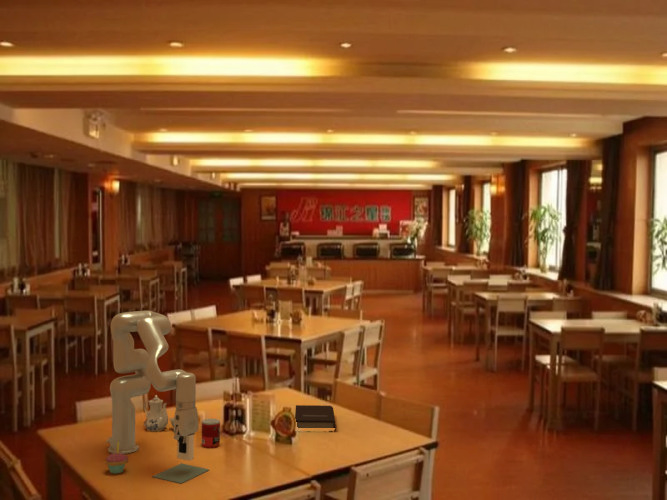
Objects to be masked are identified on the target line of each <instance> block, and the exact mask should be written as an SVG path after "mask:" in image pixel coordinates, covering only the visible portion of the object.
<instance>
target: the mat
mask: <svg viewBox="0 0 667 500" xmlns="http://www.w3.org/2000/svg"><path fill="white" fill-rule="evenodd" d="M209 471H210V469H208V468H204V467H199V466H196V465H195V466H194V465H190V464H186V463H179V464H177V465H175V466H173V467H171V468H170V467H169V468H168V469H165V470H163V471H161V472H159V473H156V474H154V475H152V478H154V479H155V478H156V479H159V480H163V481H168V482H171V483H176V484H179V485H180V484H181V485H182V484H184V483H186V482H188V481H190V480H193V479H194V478H196V477H198V476H201V475H203V474H205V473H207V472H209Z"/></svg>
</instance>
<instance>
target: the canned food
mask: <svg viewBox="0 0 667 500" xmlns="http://www.w3.org/2000/svg"><path fill="white" fill-rule="evenodd" d="M220 442H221V420H220V419H218V418H205V419H203V420H202V421H201V446H202V448H205V449H215V448H218V447H220Z"/></svg>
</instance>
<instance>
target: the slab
mask: <svg viewBox="0 0 667 500" xmlns="http://www.w3.org/2000/svg"><path fill="white" fill-rule="evenodd" d="M194 436H195V434H194V433H192V434H190V435H187V436H186V438H185V443H186V453H180V452H179V443H178V441H177V440H176V442H177V443H176V445H177V447H176V448H177V449H176V453H177V454H176V459H180V460H185V461H190V462H191V461H192V460H194V453H195V452H194V450H195V449H194V447H195V446H194V441H195V439H194V438H195V437H194ZM181 438H183V437H181Z"/></svg>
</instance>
